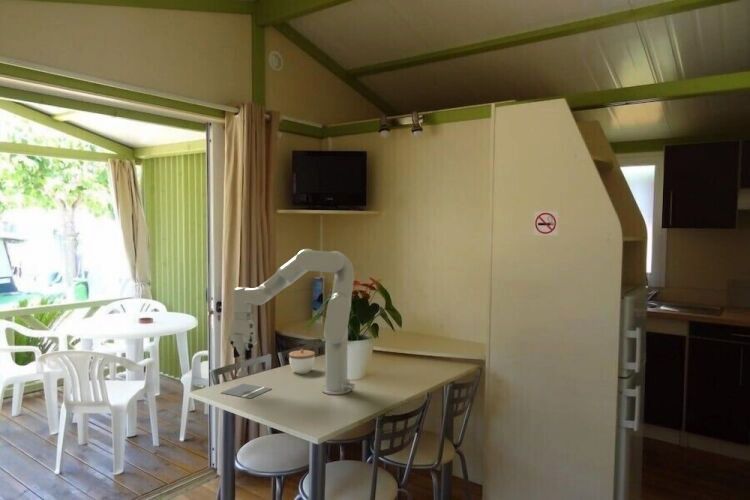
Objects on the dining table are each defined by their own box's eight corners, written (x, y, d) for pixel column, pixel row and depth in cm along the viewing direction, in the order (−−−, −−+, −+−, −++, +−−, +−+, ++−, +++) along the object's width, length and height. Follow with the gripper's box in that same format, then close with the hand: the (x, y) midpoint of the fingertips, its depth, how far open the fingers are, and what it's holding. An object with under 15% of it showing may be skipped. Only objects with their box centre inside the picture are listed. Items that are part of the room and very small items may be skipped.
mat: (271, 389, 218) (271, 388, 218) (250, 398, 206) (250, 397, 206) (242, 384, 225) (242, 383, 225) (220, 393, 213) (220, 392, 213)
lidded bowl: (307, 376, 238) (307, 353, 238) (284, 373, 242) (284, 351, 242) (319, 369, 250) (319, 347, 249) (297, 367, 254) (296, 345, 254)
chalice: (234, 377, 211) (234, 335, 211) (232, 373, 218) (232, 332, 217) (252, 375, 214) (252, 334, 214) (249, 371, 221) (249, 331, 220)
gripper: (264, 316, 215) (264, 358, 215) (232, 313, 222) (232, 353, 223) (252, 318, 208) (252, 362, 209) (220, 315, 216) (220, 357, 216)
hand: (242, 357), depth 216 cm, fingers closed on chalice, 5 cm apart
